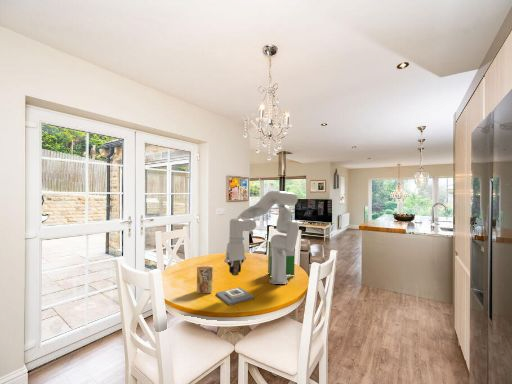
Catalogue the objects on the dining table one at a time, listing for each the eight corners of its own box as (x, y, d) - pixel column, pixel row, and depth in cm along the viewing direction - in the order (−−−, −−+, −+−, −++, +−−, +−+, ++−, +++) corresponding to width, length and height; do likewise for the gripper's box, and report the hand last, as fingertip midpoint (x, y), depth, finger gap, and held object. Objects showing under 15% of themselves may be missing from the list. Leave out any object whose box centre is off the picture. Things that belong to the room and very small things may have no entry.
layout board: (239, 288, 147) (239, 284, 147) (254, 298, 134) (254, 293, 134) (215, 294, 138) (216, 290, 138) (229, 305, 125) (229, 300, 125)
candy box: (212, 290, 144) (213, 265, 144) (211, 293, 140) (212, 267, 140) (197, 290, 144) (198, 265, 144) (196, 293, 139) (197, 267, 139)
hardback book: (270, 277, 168) (270, 243, 169) (268, 274, 176) (268, 241, 176) (294, 276, 171) (294, 243, 171) (291, 273, 178) (291, 241, 178)
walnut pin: (236, 272, 139) (236, 259, 139) (239, 274, 136) (240, 260, 136) (230, 274, 137) (230, 260, 137) (233, 276, 134) (234, 261, 134)
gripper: (244, 238, 144) (244, 268, 144) (219, 240, 135) (218, 273, 135) (251, 240, 138) (250, 271, 138) (226, 242, 129) (225, 276, 128)
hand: (235, 272), depth 136 cm, fingers closed on walnut pin, 4 cm apart
